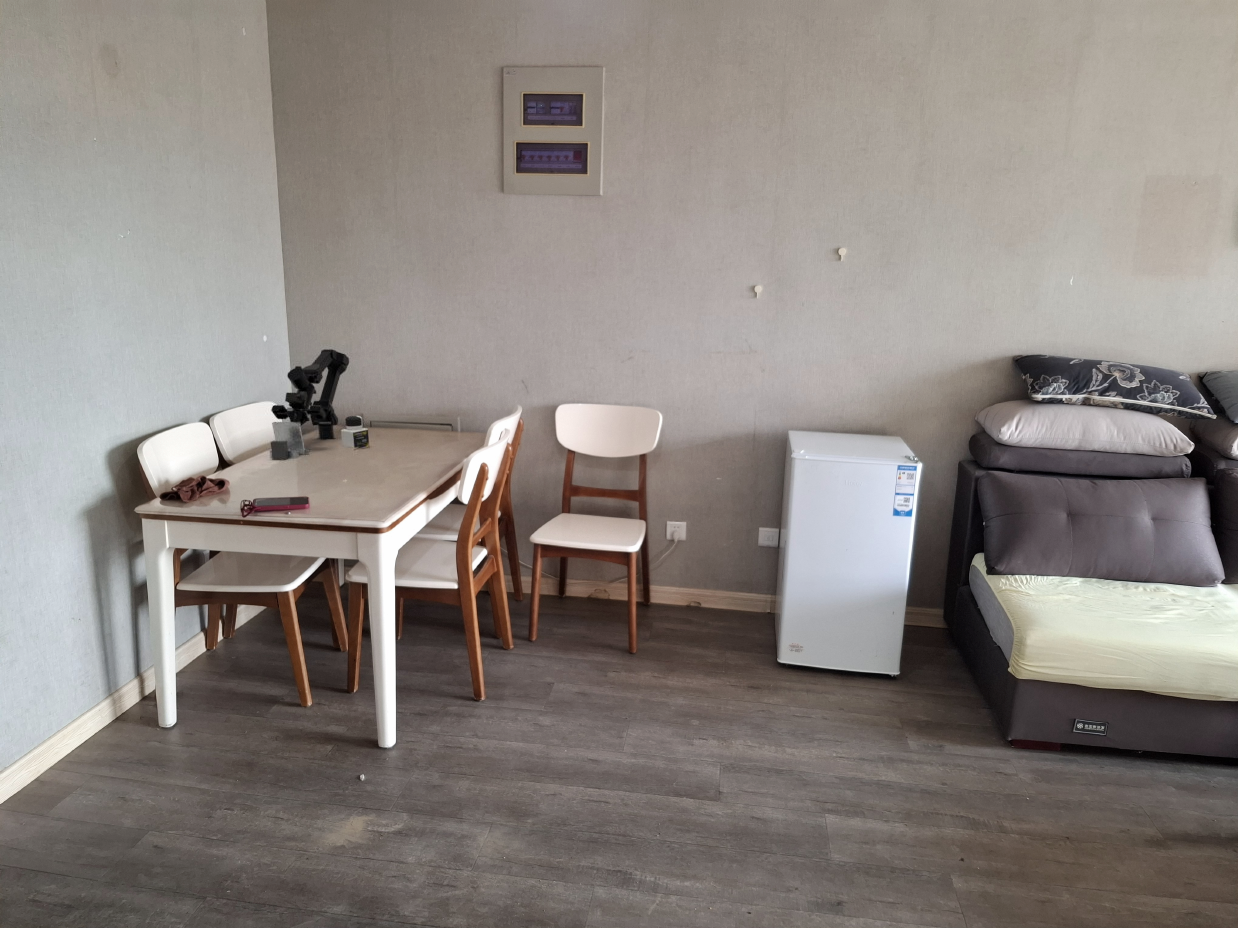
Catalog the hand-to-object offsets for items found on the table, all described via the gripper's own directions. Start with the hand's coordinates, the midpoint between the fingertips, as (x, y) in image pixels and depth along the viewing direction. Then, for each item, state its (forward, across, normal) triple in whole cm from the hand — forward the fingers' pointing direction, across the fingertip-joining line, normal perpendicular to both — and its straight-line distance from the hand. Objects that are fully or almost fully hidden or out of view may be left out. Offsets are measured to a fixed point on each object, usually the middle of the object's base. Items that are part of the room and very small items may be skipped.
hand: (292, 431), depth 303 cm
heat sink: (+11, 0, +1) cm, 11 cm away
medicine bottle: (-4, +17, +16) cm, 24 cm away
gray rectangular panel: (+4, 0, -1) cm, 4 cm away
